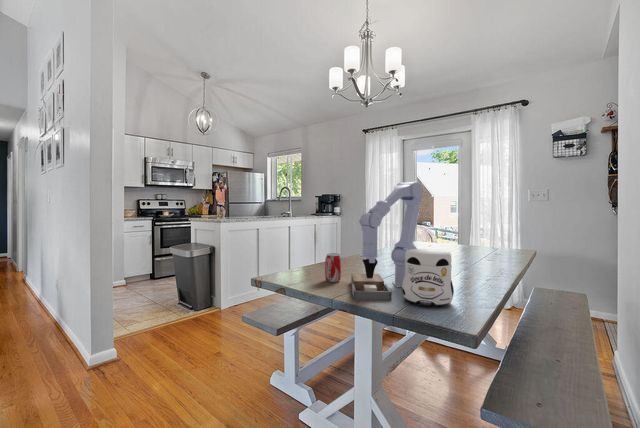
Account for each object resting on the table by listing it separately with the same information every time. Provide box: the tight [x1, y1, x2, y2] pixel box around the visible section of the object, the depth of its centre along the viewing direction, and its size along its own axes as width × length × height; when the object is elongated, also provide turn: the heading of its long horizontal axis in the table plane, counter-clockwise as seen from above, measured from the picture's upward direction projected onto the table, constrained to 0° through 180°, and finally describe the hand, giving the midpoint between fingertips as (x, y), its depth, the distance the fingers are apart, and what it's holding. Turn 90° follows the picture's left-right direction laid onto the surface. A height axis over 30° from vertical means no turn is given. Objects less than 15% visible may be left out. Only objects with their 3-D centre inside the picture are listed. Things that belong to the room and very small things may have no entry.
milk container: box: [401, 248, 454, 308], centre depth 115 cm, size 17×17×18 cm
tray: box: [351, 283, 393, 301], centre depth 123 cm, size 14×11×3 cm
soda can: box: [324, 252, 342, 283], centre depth 144 cm, size 7×7×12 cm
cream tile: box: [364, 285, 377, 291], centre depth 124 cm, size 4×4×2 cm
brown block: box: [350, 273, 385, 291], centre depth 135 cm, size 12×13×4 cm
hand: (369, 277), depth 127 cm, fingers closed
